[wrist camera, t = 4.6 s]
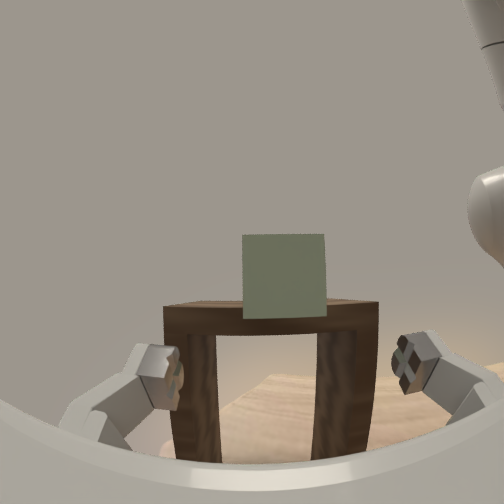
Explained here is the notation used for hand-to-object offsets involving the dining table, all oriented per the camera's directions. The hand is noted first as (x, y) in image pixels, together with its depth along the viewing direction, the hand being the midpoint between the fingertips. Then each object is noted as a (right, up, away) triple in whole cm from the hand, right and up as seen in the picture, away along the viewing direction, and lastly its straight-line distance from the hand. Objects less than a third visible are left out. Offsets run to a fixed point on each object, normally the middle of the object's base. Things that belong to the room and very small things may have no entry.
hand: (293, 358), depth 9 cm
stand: (0, -26, +13) cm, 29 cm away
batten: (0, 0, +12) cm, 12 cm away
